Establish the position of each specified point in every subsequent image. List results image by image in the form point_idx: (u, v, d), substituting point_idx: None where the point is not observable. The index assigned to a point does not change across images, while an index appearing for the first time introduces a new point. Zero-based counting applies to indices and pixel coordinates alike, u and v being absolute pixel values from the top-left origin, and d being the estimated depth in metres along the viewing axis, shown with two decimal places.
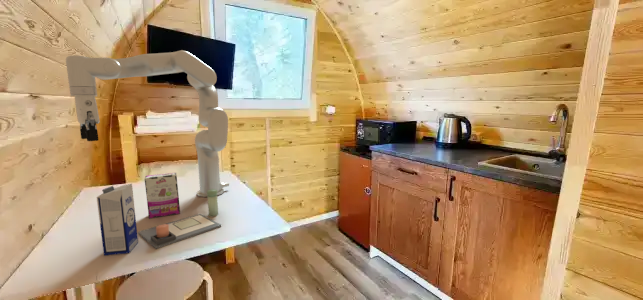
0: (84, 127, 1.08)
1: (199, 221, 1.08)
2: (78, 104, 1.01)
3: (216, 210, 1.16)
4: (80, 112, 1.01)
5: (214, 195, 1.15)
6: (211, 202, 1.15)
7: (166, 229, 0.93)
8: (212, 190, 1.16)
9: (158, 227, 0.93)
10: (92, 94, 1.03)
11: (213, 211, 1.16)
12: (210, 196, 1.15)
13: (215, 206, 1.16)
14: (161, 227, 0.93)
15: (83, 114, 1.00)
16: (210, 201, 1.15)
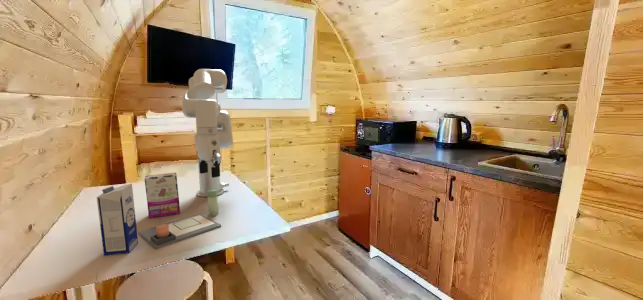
0: (202, 162, 1.17)
1: (199, 221, 1.08)
2: (205, 144, 1.09)
3: (216, 210, 1.16)
4: (207, 151, 1.09)
5: (214, 195, 1.15)
6: (211, 202, 1.15)
7: (166, 229, 0.93)
8: (212, 190, 1.16)
9: (158, 227, 0.93)
10: (215, 134, 1.11)
11: (213, 211, 1.16)
12: (210, 196, 1.15)
13: (215, 206, 1.16)
14: (161, 227, 0.93)
15: (210, 153, 1.09)
16: (210, 201, 1.15)
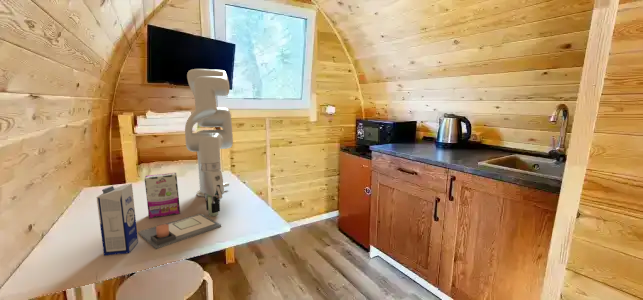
0: None
1: (199, 221, 1.08)
2: (208, 179, 1.12)
3: None
4: (210, 186, 1.11)
5: None
6: (211, 202, 1.15)
7: (166, 229, 0.93)
8: None
9: (158, 227, 0.93)
10: (219, 168, 1.14)
11: None
12: (210, 196, 1.15)
13: None
14: (161, 227, 0.93)
15: (213, 188, 1.11)
16: (210, 201, 1.15)
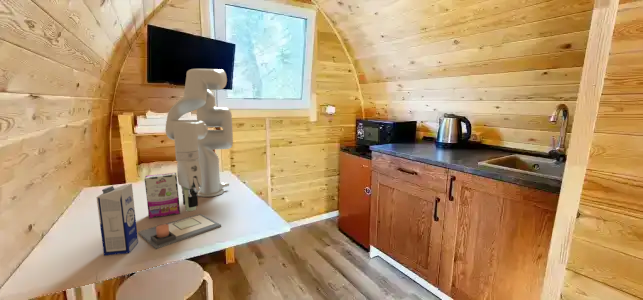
0: None
1: (199, 221, 1.08)
2: (184, 169, 1.01)
3: None
4: (186, 177, 1.01)
5: None
6: (187, 195, 1.04)
7: (166, 229, 0.93)
8: None
9: (158, 227, 0.93)
10: (196, 158, 1.03)
11: None
12: (187, 189, 1.04)
13: None
14: (161, 227, 0.93)
15: (190, 180, 1.00)
16: (186, 194, 1.04)
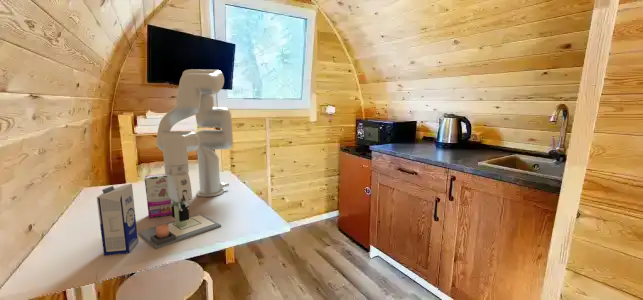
0: None
1: (199, 221, 1.08)
2: (174, 183, 0.99)
3: None
4: (176, 191, 0.99)
5: (181, 203, 1.03)
6: (177, 211, 1.02)
7: (166, 229, 0.93)
8: None
9: (158, 227, 0.93)
10: (186, 171, 1.01)
11: None
12: (176, 205, 1.02)
13: None
14: (161, 227, 0.93)
15: (179, 194, 0.98)
16: (176, 210, 1.02)
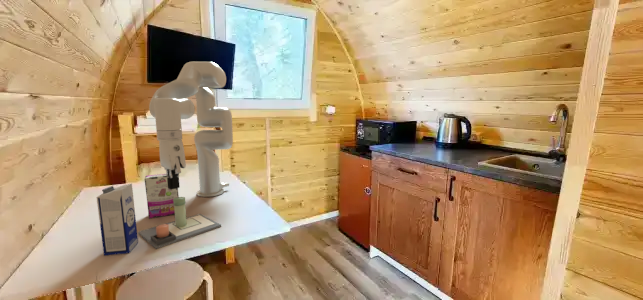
0: None
1: (199, 221, 1.08)
2: (166, 149, 0.94)
3: (184, 220, 1.04)
4: (168, 158, 0.94)
5: (181, 204, 1.03)
6: (178, 211, 1.02)
7: (166, 229, 0.93)
8: (179, 198, 1.04)
9: (158, 227, 0.93)
10: (179, 137, 0.96)
11: (181, 221, 1.03)
12: (177, 205, 1.02)
13: (183, 216, 1.03)
14: (161, 227, 0.93)
15: (172, 160, 0.94)
16: (176, 210, 1.02)
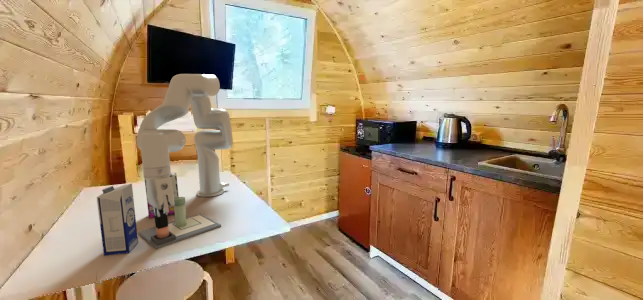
0: None
1: (199, 221, 1.08)
2: (153, 188, 0.88)
3: (184, 220, 1.04)
4: (155, 197, 0.88)
5: (181, 204, 1.03)
6: (178, 211, 1.02)
7: (166, 229, 0.93)
8: (179, 198, 1.04)
9: None
10: (167, 174, 0.90)
11: (181, 221, 1.03)
12: (177, 205, 1.02)
13: (183, 216, 1.03)
14: None
15: (159, 199, 0.88)
16: (176, 210, 1.02)
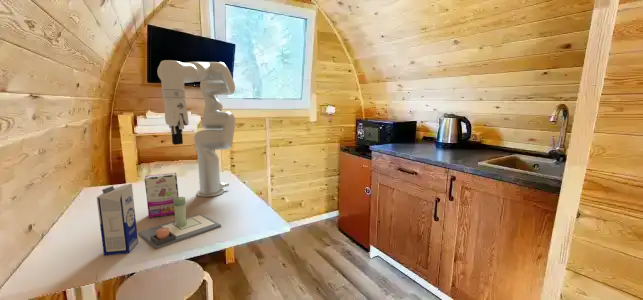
0: None
1: (199, 221, 1.08)
2: (171, 107, 1.05)
3: (184, 220, 1.04)
4: (173, 114, 1.05)
5: (181, 204, 1.03)
6: (178, 211, 1.02)
7: (166, 233, 0.93)
8: (179, 198, 1.04)
9: (158, 231, 0.93)
10: (182, 97, 1.07)
11: (181, 221, 1.03)
12: (177, 205, 1.02)
13: (183, 216, 1.03)
14: (161, 231, 0.93)
15: (176, 116, 1.05)
16: (176, 210, 1.02)
